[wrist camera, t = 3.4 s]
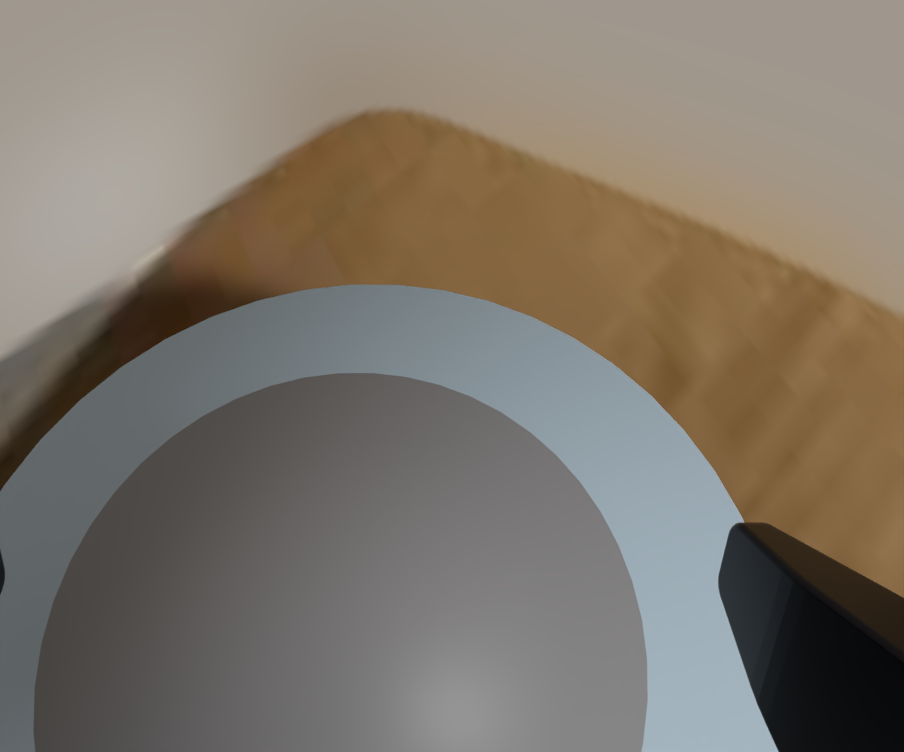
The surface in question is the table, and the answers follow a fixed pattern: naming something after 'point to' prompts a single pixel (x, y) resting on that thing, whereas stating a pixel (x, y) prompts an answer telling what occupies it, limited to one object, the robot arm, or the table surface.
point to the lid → (369, 546)
